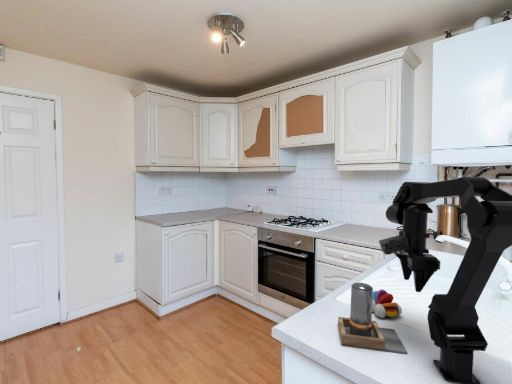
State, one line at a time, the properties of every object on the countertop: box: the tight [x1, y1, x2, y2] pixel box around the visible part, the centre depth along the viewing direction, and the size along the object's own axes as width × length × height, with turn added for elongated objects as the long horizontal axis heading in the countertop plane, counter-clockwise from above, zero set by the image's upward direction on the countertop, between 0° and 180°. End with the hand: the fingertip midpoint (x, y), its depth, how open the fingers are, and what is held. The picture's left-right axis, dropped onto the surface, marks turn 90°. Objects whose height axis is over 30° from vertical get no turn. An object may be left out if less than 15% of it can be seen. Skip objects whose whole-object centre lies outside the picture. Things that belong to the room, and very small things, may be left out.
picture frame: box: [337, 316, 408, 355], centre depth 73 cm, size 11×15×2 cm
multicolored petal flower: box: [372, 288, 403, 319], centre depth 88 cm, size 8×10×7 cm
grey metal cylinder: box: [349, 282, 374, 337], centre depth 73 cm, size 5×5×13 cm
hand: (411, 285), depth 76 cm, fingers open, 9 cm apart
